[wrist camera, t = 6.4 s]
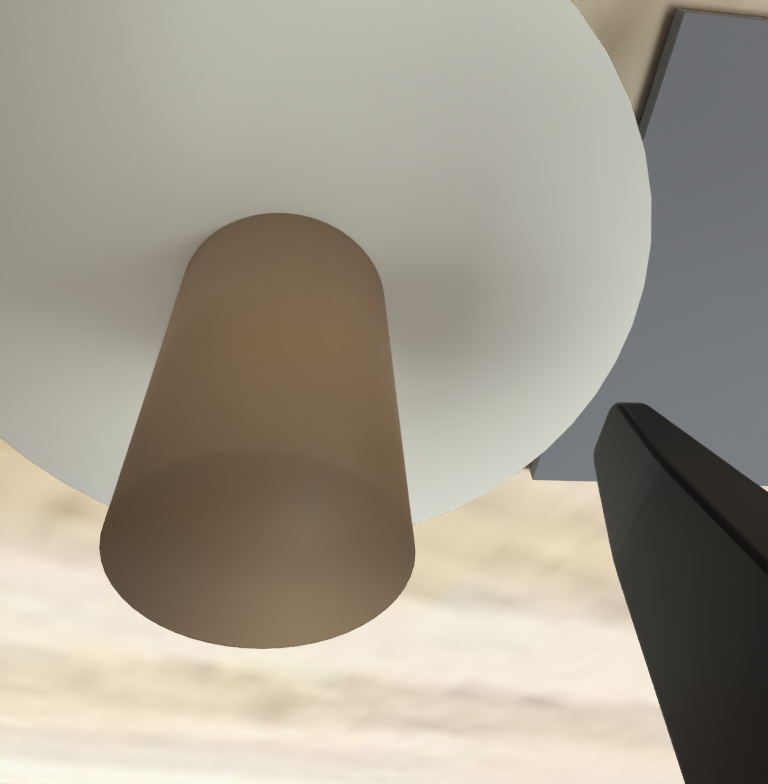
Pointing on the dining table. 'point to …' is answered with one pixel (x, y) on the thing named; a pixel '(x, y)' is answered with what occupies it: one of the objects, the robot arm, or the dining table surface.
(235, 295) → the lid
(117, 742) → the dining table surface
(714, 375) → the mat
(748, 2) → the dining table surface
